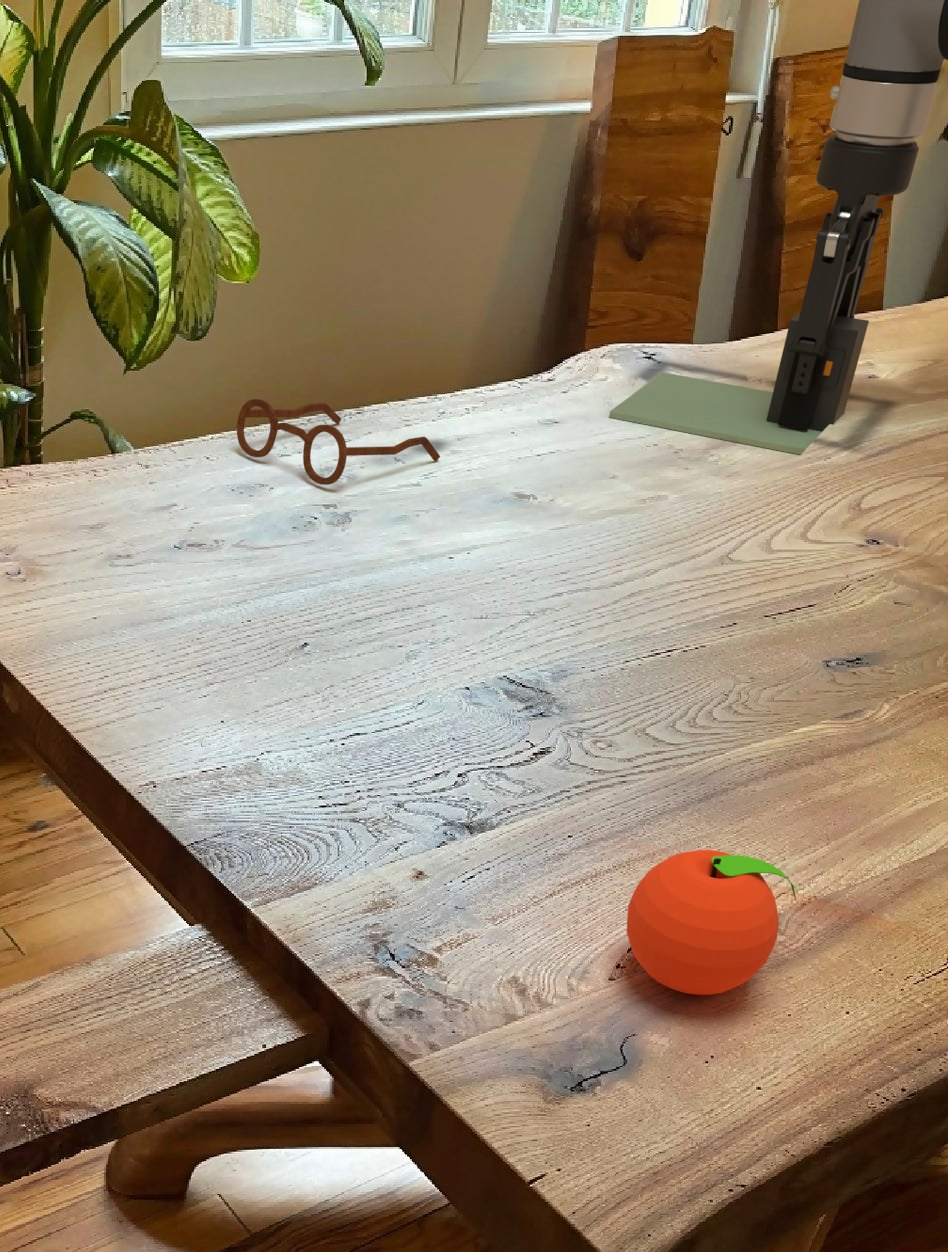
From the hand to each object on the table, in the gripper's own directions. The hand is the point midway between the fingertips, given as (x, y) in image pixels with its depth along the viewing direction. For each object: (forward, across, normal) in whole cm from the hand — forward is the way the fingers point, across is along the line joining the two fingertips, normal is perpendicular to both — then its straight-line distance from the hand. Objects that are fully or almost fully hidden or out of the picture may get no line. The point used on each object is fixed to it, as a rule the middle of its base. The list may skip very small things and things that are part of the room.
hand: (801, 417), depth 138 cm
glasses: (+1, +32, -32) cm, 45 cm away
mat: (+1, 0, -5) cm, 5 cm away
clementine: (+1, +87, +18) cm, 89 cm away
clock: (0, 0, 0) cm, 0 cm away
